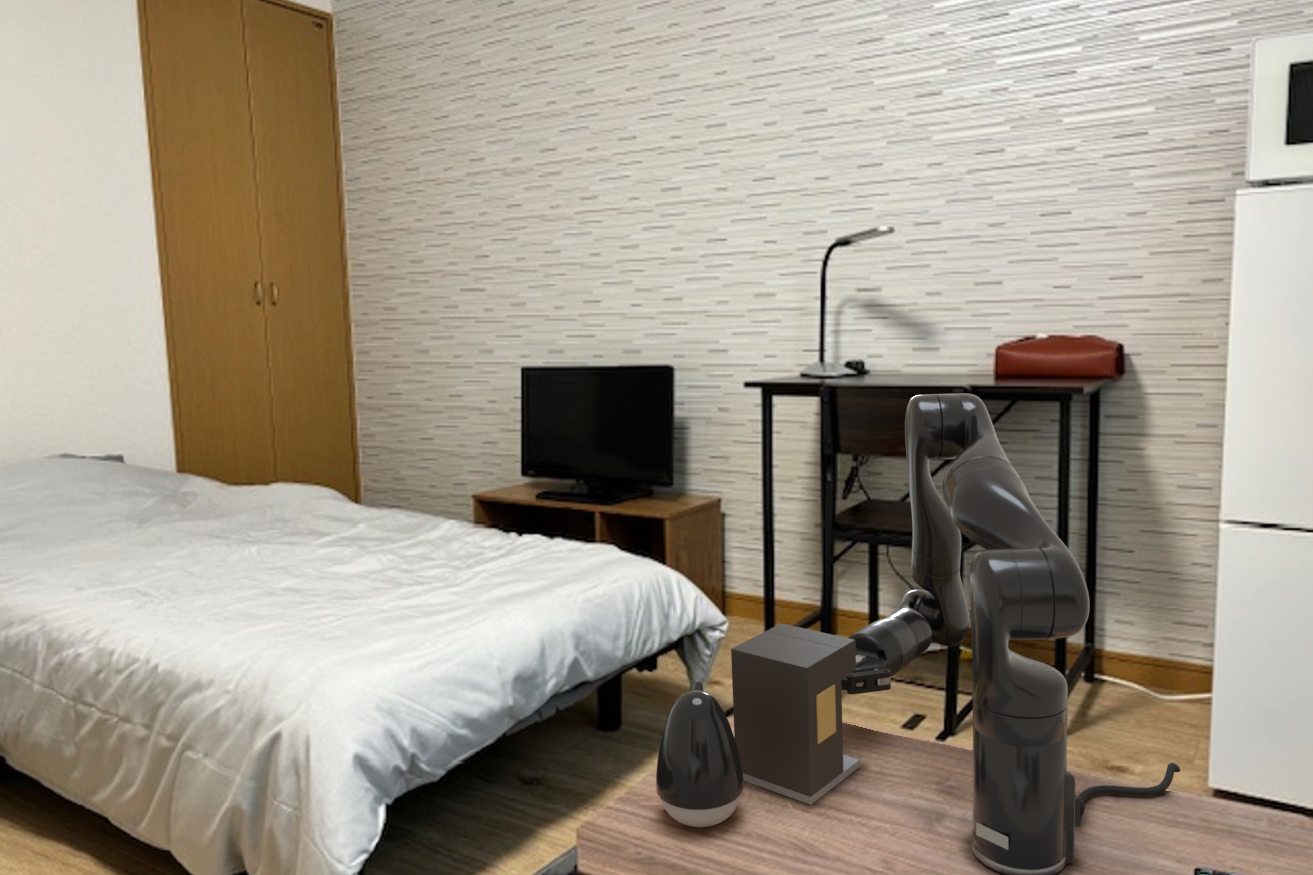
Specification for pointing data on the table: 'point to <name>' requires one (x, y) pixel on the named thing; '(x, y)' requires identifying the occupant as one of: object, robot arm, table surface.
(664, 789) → the pump dispenser
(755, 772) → the box
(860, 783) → the table surface
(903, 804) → the table surface
